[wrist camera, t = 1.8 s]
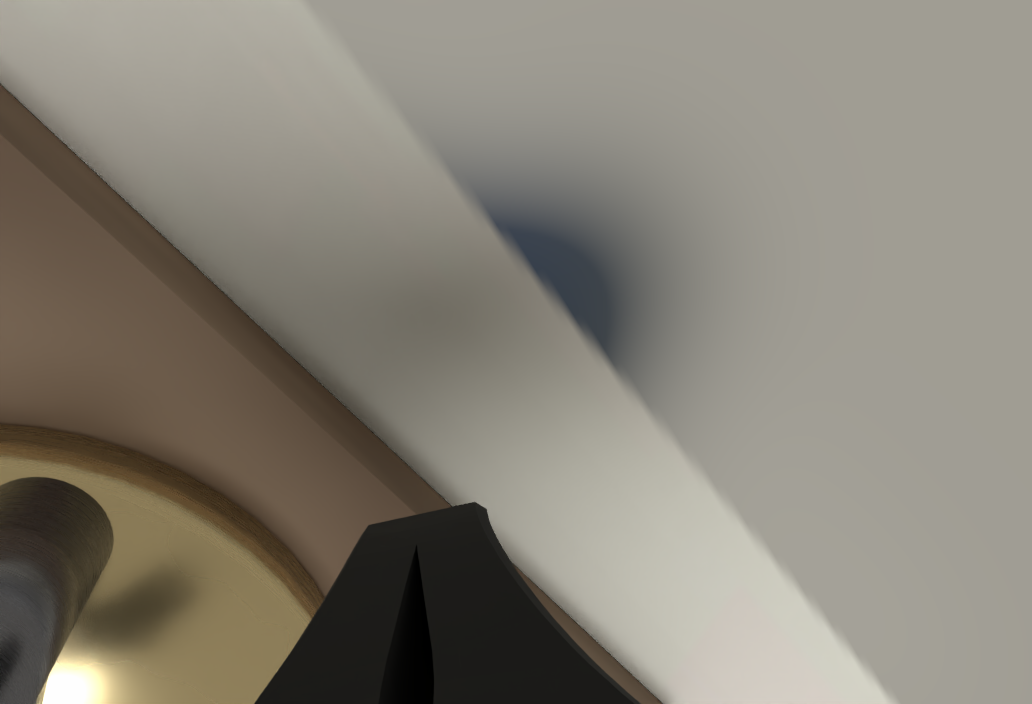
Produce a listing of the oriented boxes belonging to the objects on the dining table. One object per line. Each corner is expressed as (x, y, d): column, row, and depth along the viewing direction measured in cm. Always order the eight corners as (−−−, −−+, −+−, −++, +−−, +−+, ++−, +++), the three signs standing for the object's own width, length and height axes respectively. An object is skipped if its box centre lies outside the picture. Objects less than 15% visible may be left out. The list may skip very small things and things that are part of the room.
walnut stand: (220, 1034, 23) (190, 1207, 20) (-657, 533, 16) (-927, 672, 13) (666, 708, 21) (715, 842, 17) (-131, -39, 14) (-295, -46, 11)
